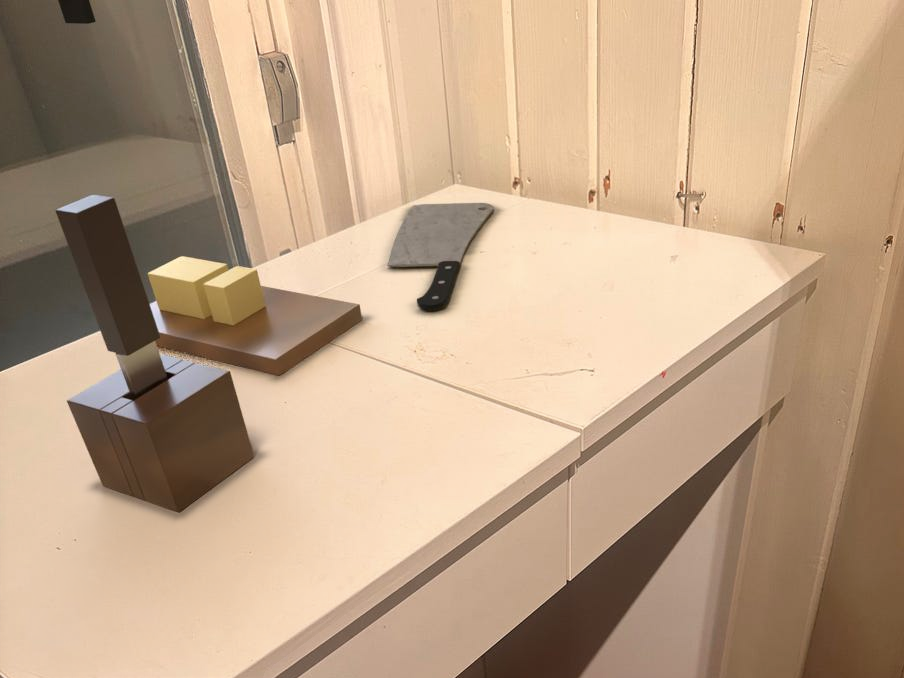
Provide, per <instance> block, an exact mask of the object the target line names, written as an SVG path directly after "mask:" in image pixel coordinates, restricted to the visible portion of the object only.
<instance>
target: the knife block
mask: <svg viewBox="0 0 904 678" xmlns="http://www.w3.org/2000/svg"><path fill="white" fill-rule="evenodd" d="M159 354H160V357H161V360H162V363H163V366H164V369H165V372H166V375H167V378H168V380H167V381H165V382H163V383H162V384H160V385H159V386H157V387H155V388H154V389H152V390H150V391H149V392H147V393H145V394H144V395H142V396H141V397H139V398H137V399H136V400H134V401H133V400H132V397H131V394H130V392H129V389H128V386H127V384H126V381H125V378H124V376H123V373H122V370H121V368H120V369H118V370H117V371H115V372H114V373H112V374H110V375H108V376H107V377H105V378H103V379H101V380H100V381H98V382H96V383H94V384H92V385H91V386H89V387H88V388H86V389H83V390H82V391H80V392H79V393H77V394H75V395H74V396H72V397H70V398H69V399H67V400H66V403H67V405H68V407H69V410H70V412H71V414H72V417H73V420H74V422H75V424H76V426H77V429H78V431H79V433H80V437H81V438H82V441H83V442H84V445H85V448H86V450H87V452H88V454H89V457H90V460H91V462H92V464H93V467H94V468H95V471H96V473H97V477H98V478H99V480H100V484H101V485H102V486H103V487H106V488H108V489H111V490H113V491H116V492H120V493H122V494H125V495H128V496H131V497H134V498H137V499H139V500H142V501H146V502H148V503H151V504H154V505H157V506H159V507H163V508H165V509H169V510H171V511H174V512H177V513H181V511H183V510H184V509H186V508H187V507H188V506H189V505H191V504H192V503H194V502H195V501H196V500H198V499H199V498H201V497H202V496H203V495H205V494H206V493H207V492H209V491H210V490H211V489H213V488H214V487H216V486H217V485H218V484H219V483H221V482H222V481H224V480H225V479H226V478H228V477H229V476H230V475H232V474H233V473H234V472H236V471H237V470H238V469H240V468H241V467H243V466H244V465H245V464H246V463H248V462H249V461H251V460H252V459H254V458H255V454H254V450H253V446H252V443H251V440H250V436H249V432H248V429H247V425H246V422H245V418H244V414H243V412H242V408H241V403H240V401H239V397H238V394H237V391H236V387H235V385H234V380H233V376H232V373H231V371H230V370H228V369H227V370H226V369H224V368H219V367H215V366H211V365H206V364H204V363H203V364H202V363H199V362H195V361H190V360H187V359H183V358H179V357H174V356H171V355H167V354H163V353H159Z"/></svg>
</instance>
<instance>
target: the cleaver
mask: <svg viewBox="0 0 904 678" xmlns="http://www.w3.org/2000/svg"><path fill="white" fill-rule="evenodd" d="M494 210H495V207H494V205H492V204H491V203H488V202H459V203H458V202H457V203H456V202H455V203H454V202H453V203H420V204H413V205H412V206H411V208H410V210H408V213H407V214H406V216H405V217H404V218H403V221H402V223H401V225H400V226H399V229H398V231H397V233H396V235H395V239H394V241H393V244H392V248H391V251H390V254H389V258H388V261H387V265H386V266H387V267H393V268H395V267H396V268H401V267H403V268H404V267H407V268H408V267H437V268H436V271H435V274H434V277H433V280H432V282H431V284H430V286H429V288H428V290H427V291H426V292H425V293H424V295H422V296H420V297H418V298H417V299H416V304H417V305H418V306H419V308H421V309H422V310H424V311H437V310H439V309H442V308H444V307H446V305H447V304H448V302H449V300H450V297H451V294H452V292H453V288H454V285H455V282H456V279H457V276H458V273H459V270H460V268H461V262H462V260H463V258H464V255H465V252H466V250H467V249H468V247H469V245H470V243H471V241H472V240H473V238H474V237H475V236H476V234H477V232H478V230H480V228H481V227H482V225H483V224H484V223H485V222H486V220H487V219H488V218H489V217H490V215H491V214H492V213H493V212H494Z"/></svg>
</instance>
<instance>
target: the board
mask: <svg viewBox="0 0 904 678" xmlns="http://www.w3.org/2000/svg"><path fill="white" fill-rule="evenodd" d="M261 289H262V293H263V297H264V301H265V305H266V307H264V308H262V309H261V310H259V311H257V312H256V313H254V314H252V315H251V316H249V317H247V318H246V319H244V320H242V321H241V322H239V323H237V324H235V325H234V326H233V325H228V324H223V323H219V322H214V320H213V317H212V315H211V316H209V317H207V318H206V319H201V318H196V317H191V316H187V315H182V314H178V313H173V312H168V311H164V310H159V307H158V304H157V301H156V300H155V301H153V302H150V303H149V304H150V307H151V310H152V313H153V316H154V319H155V322H156V325H157V328H158V331H159V334H160V338H159V339H157V340H155V342H156V345H157V347H160V348H162V349H163V348H164V349H168V350H172V351H175V352H176V351H177V352H179V353H183V354H187V355H193V356H197V357H200V358H205V359H209V360H213V361H218V362H221V363H226V364H229V365H234V366H238V367H242V368H246V369H250V370H253V371H258V372H263V373H267V374H271V375H276V376H281V375H283V374H285V373H286V372H287V371H289V370H290V369H291V368H293V367H295V366H296V365H298V364H299V363H300V362H302V361H303V360H305V359H307V358H308V357H309V356H310V355H312V354H314V353H315V352H317V351H318V350H320V349H322V348H323V347H324V346H325V345H327V344H329V343H330V342H332V341H333V340H334V339H336V338H337V337H339V336H340V335H342V334H344V333H345V332H347V330H350V329H351V328H352V327H353V326H355V325H357V324H358V323H359V322H361V321H362V320H363V316H362V309H361V304H359V303H355V302H349V301H344V300H338V299H333V298H328V297H323V296H318V295H311V294H306V293H302V292H298V291H297V292H296V291H291V290H285V289H281V288H275V287H269V286H264V285H261Z"/></svg>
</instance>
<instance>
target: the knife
mask: <svg viewBox="0 0 904 678" xmlns="http://www.w3.org/2000/svg"><path fill="white" fill-rule="evenodd" d="M54 211H55V214H56V217H57V219H58V222H59V224H60V227H61V230H62V232H63V235H64V238H65V240H66V244H67V246H68V249H69V251H70V254H71V256H72V259H73V262H74V264H75V267H76V270H77V273H78V275H79V278H80V280H81V283H82V285H83V288H84V291H85V294H86V297H87V299H88V302H89V304H90V308H91V309H92V312H93V316H94V318H95V320H96V323H97V325H98V329H99V331H100V333H101V336H102V339H103V342H104V344H105V347H106V351H108V352H111V353H114V354H115V356H116V360H117V362H118V365H119V367H120V369H121V370H122V373H123V376H124V378H125V381H126V384H127V386H128V389H129V392H130V394H131V397H132V400H133V401H134V400H136V399H137V398H139V397H141V396H142V395H144V394H145V393H147V392H149V391H150V390H152V389H154V388H155V387H157V386H159V385H160V384H162V383H163V382H165V381H167V380H168V378H167V375H166V372H165V369H164V366H163V363H162V360H161V357H160V354H161V353H160V351H159V348H158V346H157V345H156V342H155V340H157V339H159V338H160V334H159V331H158V328H157V325H156V322H155V319H154V316H153V313H152V310H151V307H150V304H151V303H150V301H149V299H148V295H147V292H146V289H145V286H144V283H143V280H142V277H141V275H140V271H139V268H138V265H137V262H136V259H135V256H134V253H133V249H132V247H131V244H130V241H129V237H128V235H127V232H126V228H125V225H124V223H123V220H122V217H121V214H120V211H119V208H118V205H117V201H116V198H115V197H113V196H105V195H98V194H91V195H88V196H86V197H83V198H80V199H78V200H76V201H73V202H72V203H69V204H67V205H64V206H61V207H60V208H59V207H58V208H57V209H55V210H54Z"/></svg>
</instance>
